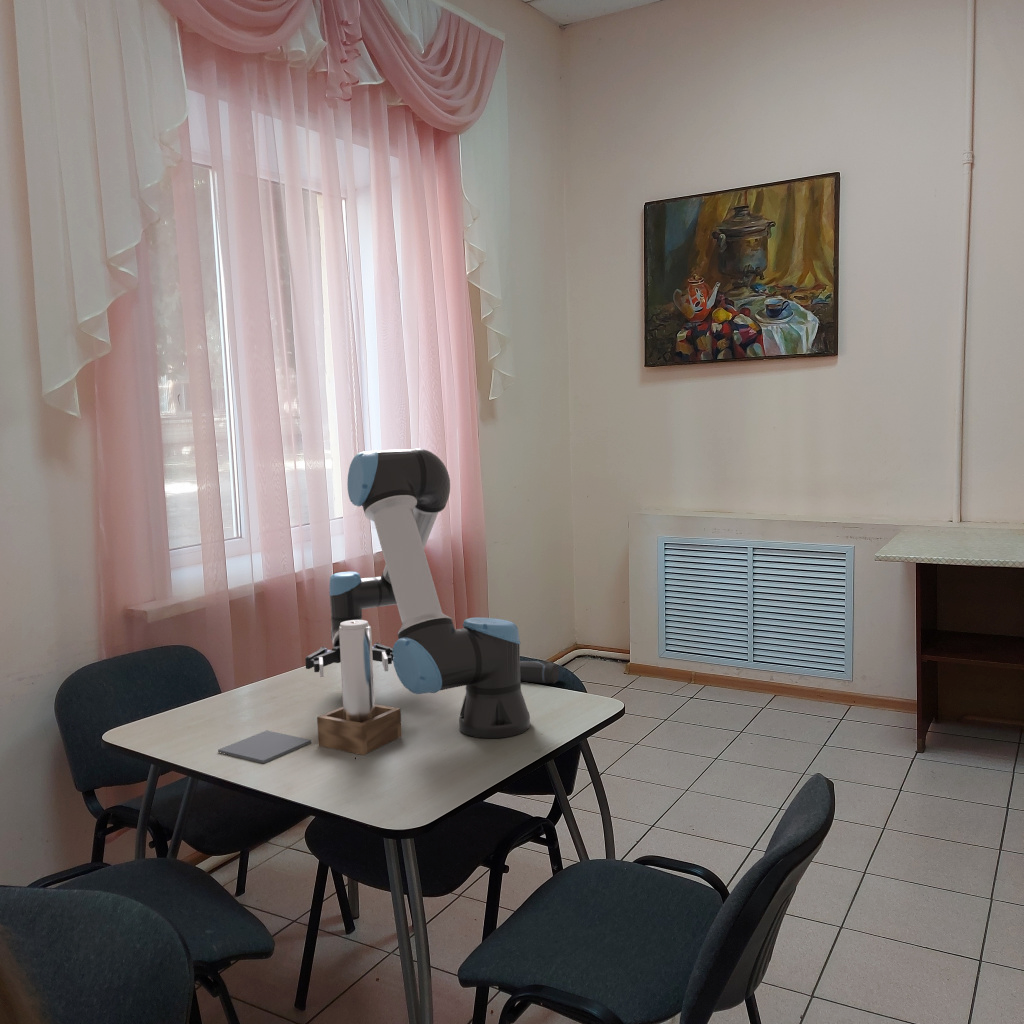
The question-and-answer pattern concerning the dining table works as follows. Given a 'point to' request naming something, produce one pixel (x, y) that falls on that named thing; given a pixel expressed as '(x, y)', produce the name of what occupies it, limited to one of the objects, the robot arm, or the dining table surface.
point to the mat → (264, 746)
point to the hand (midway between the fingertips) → (354, 667)
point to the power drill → (538, 672)
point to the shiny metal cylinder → (357, 670)
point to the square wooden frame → (359, 730)
